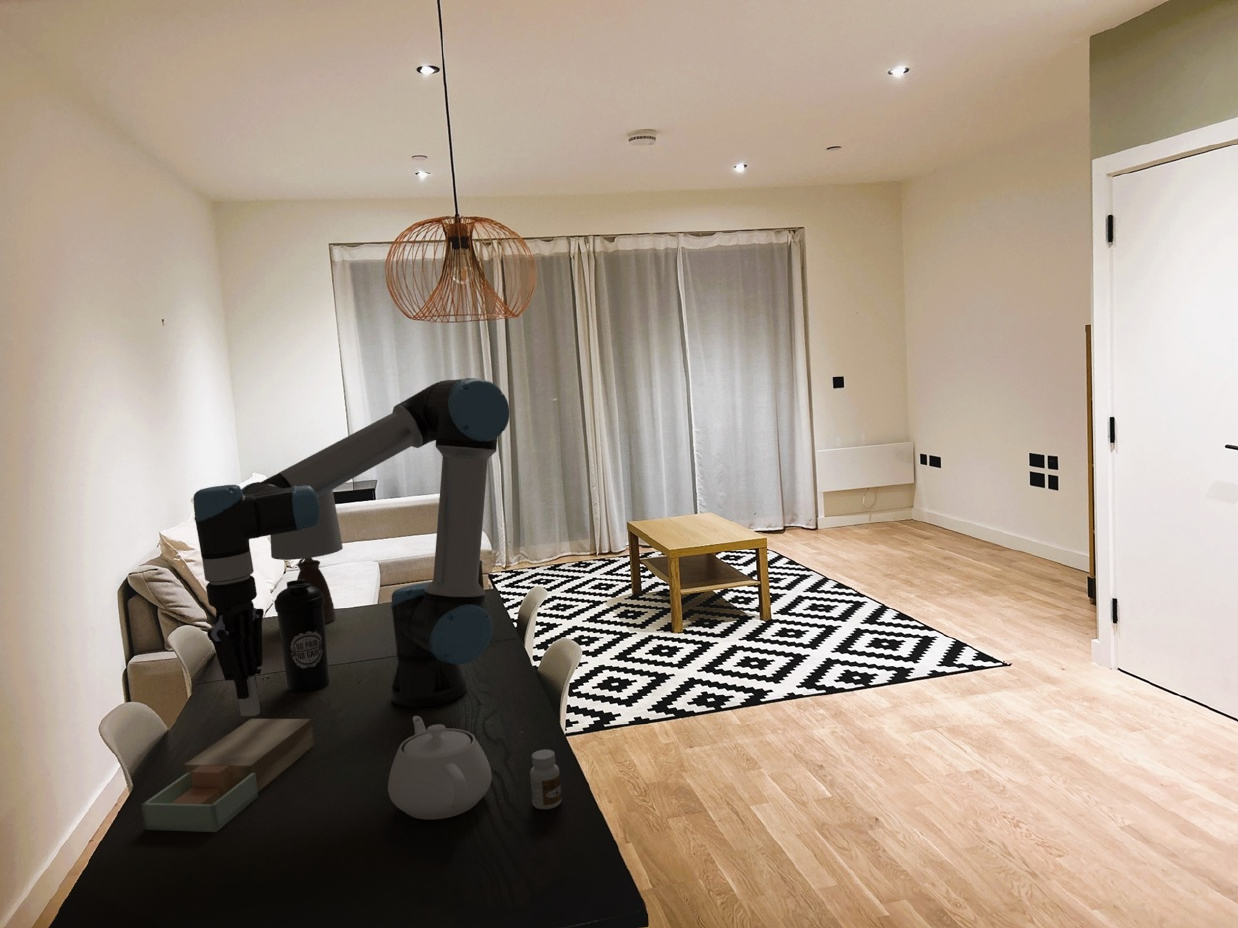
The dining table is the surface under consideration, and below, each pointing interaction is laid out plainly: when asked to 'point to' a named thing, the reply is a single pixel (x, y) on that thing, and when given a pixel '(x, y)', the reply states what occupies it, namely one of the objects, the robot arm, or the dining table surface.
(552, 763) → the pill bottle
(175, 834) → the dining table surface
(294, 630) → the water bottle
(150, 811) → the tray
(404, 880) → the dining table surface
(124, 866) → the dining table surface
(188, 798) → the tile
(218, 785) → the tile
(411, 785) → the teapot
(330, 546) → the lamp
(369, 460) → the robot arm
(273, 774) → the long beige platform
